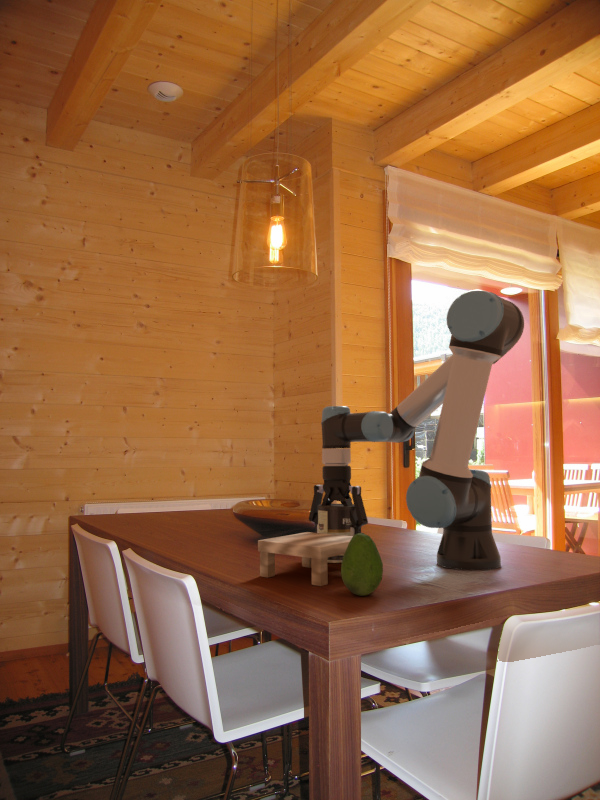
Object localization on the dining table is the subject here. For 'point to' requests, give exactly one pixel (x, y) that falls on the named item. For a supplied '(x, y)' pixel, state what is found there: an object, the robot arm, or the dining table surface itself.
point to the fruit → (361, 565)
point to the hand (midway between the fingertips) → (337, 550)
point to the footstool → (303, 552)
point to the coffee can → (334, 523)
